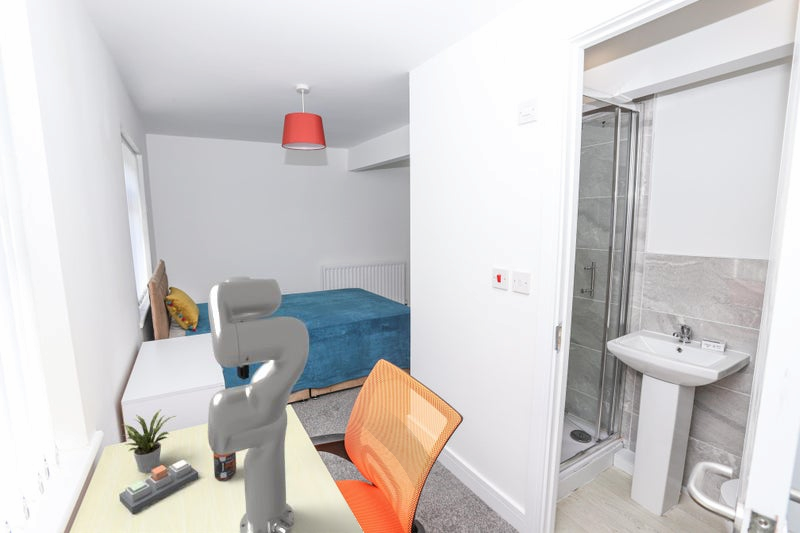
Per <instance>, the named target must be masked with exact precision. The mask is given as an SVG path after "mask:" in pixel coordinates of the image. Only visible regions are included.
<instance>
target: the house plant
mask: <svg viewBox="0 0 800 533" xmlns="http://www.w3.org/2000/svg"><path fill="white" fill-rule="evenodd" d="M161 411H162V409H159V410H158V411H156V412H155V414H154V416H153V417H152V419H151V422H150V427H149V429H148V427H147V423H146V421H145V419H144V418H142V417H141V416H140V415H138V414H136V415H135V416H136V417H137V419H134V418H133V420H135V421H136V422H137V423H139V424H140V425H141V428H142V431H143V434H141V433H140V432H138V430H137V429H135V428H134V427H132V426H130V425H127V424H121V425H122V426H124V427H125V429H126V431H127V438H126V440H127V439H128V440H129V439H131V440H132V441H134V442H130V443H128V442H127V443H125V445H127V446H128V445H130V446H134V447H131V448H129V450H128V452H130V451H131V452H132V451H133V456H134V458H135V462H136V465H137V468H138V471H139V473H141V474H146V473H151V470H153V469H155V468H157V467H159V466H160V460H161V451H162V450H161V449H162V443H161V442H159V441H163V440H164V439H168V437H167V436H165V435H169V436H170V433H169V432H168V431H163V432H161V433H160V434H158V436H157V437H156V435H157V433H158V432H159V431H160V430H161V429H162V427H163V426H164V424H165V423H166V422H168V420H170V419H172V418H175V417H176V415H173V416H169V417H167V418H165V416H166V414H165V415H162V416H161V417H160V418H159V419H157V418H158V416H159V413H160V412H161ZM163 418H165V420H163ZM162 420H163V421H162ZM161 421H162V422H161ZM155 423H156V425H155ZM154 425H155V426H154ZM122 436H125V434H123V435H122Z"/></svg>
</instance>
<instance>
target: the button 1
mask: <svg viewBox="0 0 800 533" xmlns="http://www.w3.org/2000/svg"><path fill="white" fill-rule="evenodd" d="M128 487H129V489H130V491H131V492H132V493H135V492H137V491H139V490H141V489H143V488H145V487H146V485H145V484H144V483H143V482H142V481H141V480H139V481H137V482H135V483H133V484H131V485H129V486H128Z"/></svg>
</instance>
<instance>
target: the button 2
mask: <svg viewBox="0 0 800 533" xmlns="http://www.w3.org/2000/svg"><path fill="white" fill-rule="evenodd" d="M167 470H168V469H167V467H165V466H164V465H162V464H161V465H159V466H158V467H157V468H155V469H153V470H151V472H150V473H151V475H152V479H153V480H154V481H156V482H157V481H159V480H161V479H162V478H164V477H166V476H167Z"/></svg>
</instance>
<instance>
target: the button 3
mask: <svg viewBox="0 0 800 533" xmlns="http://www.w3.org/2000/svg"><path fill="white" fill-rule="evenodd" d="M185 461H186V460H185ZM185 461H183V459H181V460H179V461H177V462H176V463H173V464H172V465H173V469H175V470H176V471H178V470H180V469H182V468H184V467H186V466H187V463H186V462H185Z"/></svg>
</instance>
